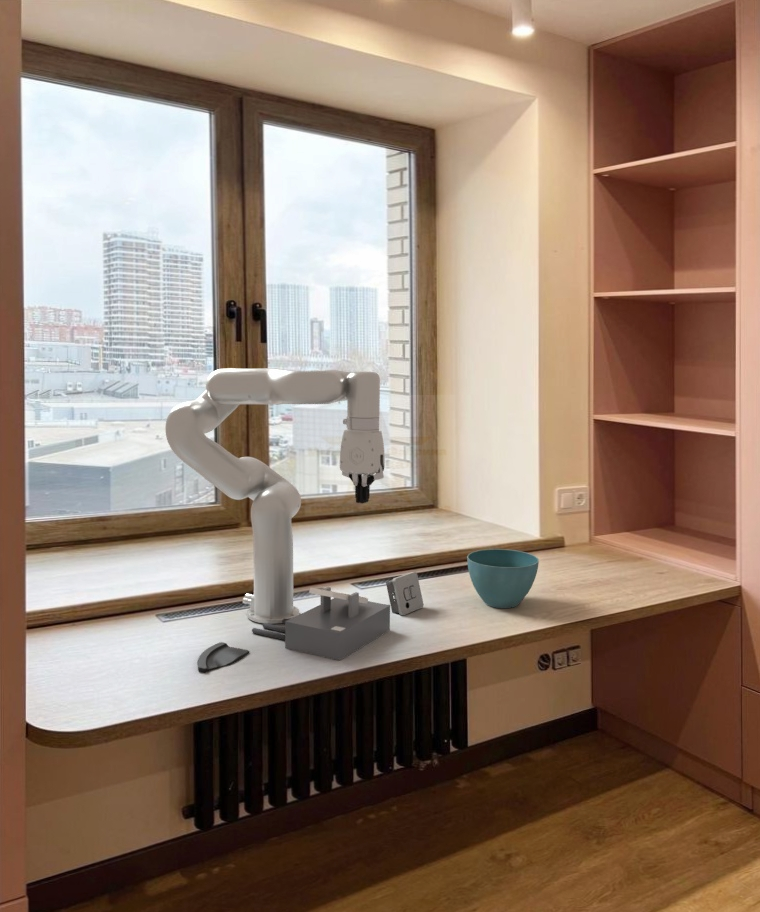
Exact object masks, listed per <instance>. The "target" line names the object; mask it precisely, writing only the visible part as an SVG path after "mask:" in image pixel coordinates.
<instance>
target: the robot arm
mask: <svg viewBox="0 0 760 912" xmlns="http://www.w3.org/2000/svg"><path fill="white" fill-rule="evenodd" d="M380 394H381V379H380V375H379V374H378V372H373V371H352V372H348V371H343V370H338V369H337V370H336V369H330V370H329V369H327V370H317V371H316V370H314V371H313V370H311V371H310V370H308V371H306V370H304V371H302V370H299V371H298V370H295V371H293V370H291V371H290V370H283V369H279V368H272V367H267V368H263V367H262V368H261V367H260V368H257V367H256V368H237V367H236V368H234V367H227V368H219V369H215V370H214V371H212V372H211V373H210V374H209V376H208V377H207V379H206V382H205V391H204V392H203V393H202V394H201V395H200V396H199V397H198V398H196V399H195V400H190V401H183V402H182V403H179V404H177V405H176V406H174V407H173V408H172V409H171V410H170V411H169V413H168V415H167V417H166V420H165V429H164V430H165V436H166V440H167V443H168V445H169V447H170V449H171V450H172V452H173V453H174V454H175V456H177V458H179V459H180V460H181V461H182V462H183V463H185V465H187V466H189V467H190V468H191V469H192V470H193V471H195V472H196V473H198V474H199V475H200V476H201V477H203V478H204V479H205V480H207V482H209V483H210V484H211V485H213V486H214V487H215V488H216V489H218V490H220V492H222V493H223V494H224V495H226V496H227V497H228V498H230V499H232V500H237V501H240V500H243V499H244V500H245V499H247V498H249V499H250V500H252V503H251V504H252V505H251V507H250V522H251V529H252V543H253V550H252V551H253V552H252V553H253V594H252V593H246V594H244V596H243V598H242V604H245V605H249V609H248V610H247V614H246V615H247V618H248V619H249V620H250V621H253V622H255V623H259V624H264V623H268V624H273V625H277V624H283V623H282V620H283V619H291V618H294V617H296V616H298V615H300V614H301V613H300V609H299V608H298V607H297V606H294V537H293V536H294V535H293V527H292V518H294V516H296V515H297V514H298V512H299V511H300V509H301V506H302V498H301V494H300V492H299V490H298V489H297V488H296V486H294V484H292V483H291V482H290V481H289V480H287V479H286V478H285V477H283V476H282V475H281V474H279V473H278V472H276V471H275V470H274V469H272V467H270V466H268V464H266V463H264V462H263V461H262V460H260V459H258V458H255V457H253V456H242V457H237V456H235V455H234V454H233V453H231V452H230V451H228V450H227V449H225V447H223V446H222V445H220V444H219V443H218V442H216V441H214V440H212V439H211V438H209V437H208V436H206V435H205V434H207V433H210V432H212V431H214V430H215V429H216V428H217V427H218V426H220V425H221V423H223V421H225V420H226V419H227V418H228V417H229V416H230V415H231V414H232V413H233V412H234V411H235V410H236V409H238V407H239V406H240V405H274V406H275V405H277V406H278V405H330V404H333V403H336V402H343V401H347V407H346V408H347V409H346V413H347V416H346V418H343V420H342V423H343V425H346V429H344V430H343V433H342V438H341V441H340V443H341V444H340V451H339V469H340V471H342V472H341V475H342V476H343V477H346V478H349V480H350V481H351V482H352V485H353V486H354V489H355V490H354V493H355V494H354V496H355V497H354V498H355V502H356V504H366V503H368V502H369V501H370V500H369V499H370V495H371V494H370V490H371V489H370V488H371V487H370V486H372V484H373V483H374V482H375V481H377V480H382V479H384V478H385V477H384V470H385V466H386V465H385V461H386V460H385V459H386V458H385V445H384V438H383V433H382V431H381V430H380V406H381V405H380V401H381V400H380V398H381V395H380Z"/></svg>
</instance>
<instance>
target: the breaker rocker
mask: <svg viewBox="0 0 760 912" xmlns="http://www.w3.org/2000/svg"><path fill="white" fill-rule="evenodd" d="M308 592H309V593H308V594H312V595H317V596H321V595H323V596H328V597H331V598H332V599H333V598H339V599H344V600H349V595H350V594H347V593H343V592H337V591H332V590H331V591H327V590H323V589H320V588H315V587H309V591H308ZM368 601H369V598H367V597H366V596H365V597H363V596H359V602H360V603H366V604H367V603H368Z"/></svg>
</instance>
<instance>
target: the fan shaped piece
mask: <svg viewBox="0 0 760 912" xmlns="http://www.w3.org/2000/svg"><path fill="white" fill-rule="evenodd" d="M249 654H250V650H249V649H243V648H239V647H233V646H229V645H228V643H226V642H222V641H220V642H218V643H215V644H213V645H211V646H209V647H207V648H206V649H205V650H204V651H202V652H201V654H199V657H198V658H197V662H196V663H197V664H196V665H197V671H198V672H199V673H203V674H206V673H209V672H210V671H215V670H217V669H221V668H225V667H228V666H232V665H234V664H235V663H236V662H239V661H240V660H242V659H243V658H245V657H246V656H247V655H249Z"/></svg>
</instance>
